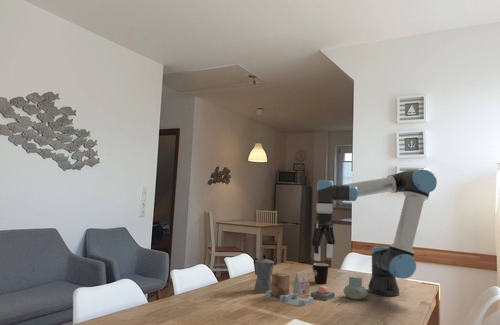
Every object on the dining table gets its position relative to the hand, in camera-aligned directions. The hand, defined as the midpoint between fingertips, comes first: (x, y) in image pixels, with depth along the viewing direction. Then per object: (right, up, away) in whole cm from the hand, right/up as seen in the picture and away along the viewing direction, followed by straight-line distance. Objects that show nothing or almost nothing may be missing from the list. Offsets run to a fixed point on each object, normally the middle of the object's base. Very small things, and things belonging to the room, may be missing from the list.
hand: (323, 259), depth 172 cm
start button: (-1, -17, -2) cm, 17 cm away
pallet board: (-17, -17, -8) cm, 25 cm away
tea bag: (-10, -19, +4) cm, 22 cm away
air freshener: (+16, -20, +3) cm, 25 cm away
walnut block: (-21, -16, -5) cm, 27 cm away
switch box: (-1, -18, -2) cm, 18 cm away
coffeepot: (-29, -18, +6) cm, 35 cm away
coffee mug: (+5, -22, +34) cm, 41 cm away
